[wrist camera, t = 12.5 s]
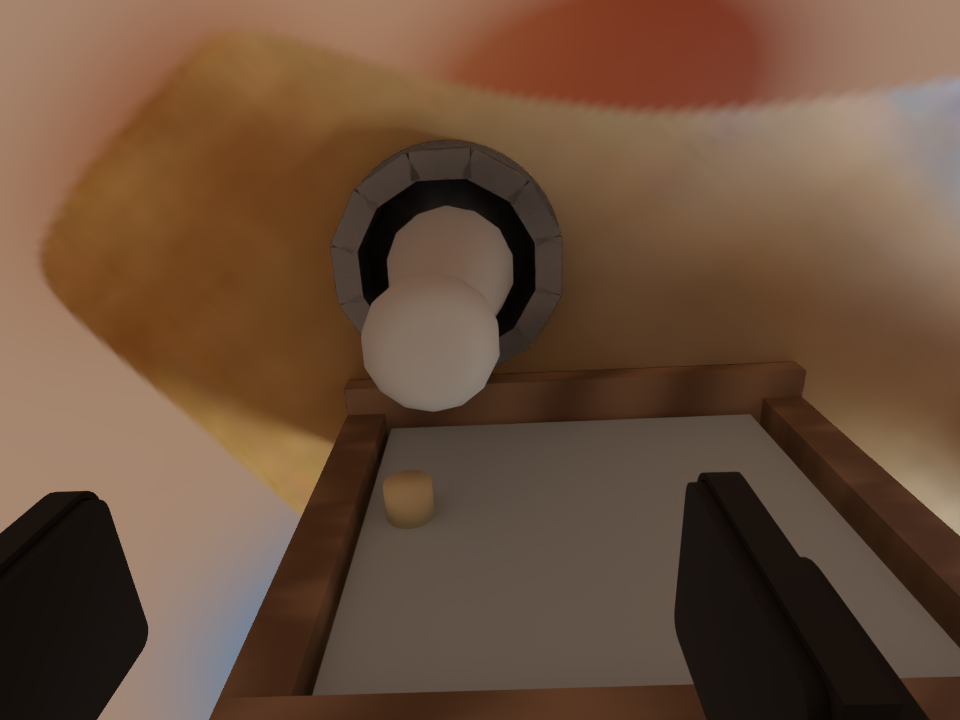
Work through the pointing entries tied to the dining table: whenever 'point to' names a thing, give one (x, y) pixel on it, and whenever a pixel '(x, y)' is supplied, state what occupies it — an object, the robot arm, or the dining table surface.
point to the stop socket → (462, 184)
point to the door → (573, 557)
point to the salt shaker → (439, 310)
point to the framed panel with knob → (562, 398)
